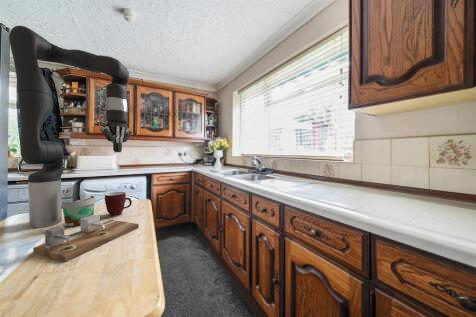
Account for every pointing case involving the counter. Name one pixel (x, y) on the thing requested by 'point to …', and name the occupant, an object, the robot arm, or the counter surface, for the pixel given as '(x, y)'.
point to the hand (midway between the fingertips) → (117, 152)
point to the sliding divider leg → (90, 223)
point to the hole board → (80, 240)
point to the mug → (116, 202)
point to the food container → (77, 211)
